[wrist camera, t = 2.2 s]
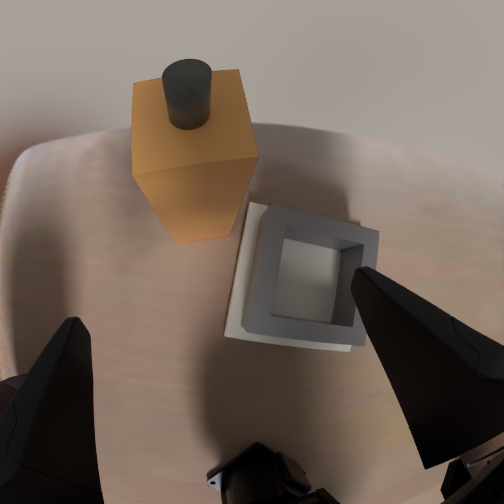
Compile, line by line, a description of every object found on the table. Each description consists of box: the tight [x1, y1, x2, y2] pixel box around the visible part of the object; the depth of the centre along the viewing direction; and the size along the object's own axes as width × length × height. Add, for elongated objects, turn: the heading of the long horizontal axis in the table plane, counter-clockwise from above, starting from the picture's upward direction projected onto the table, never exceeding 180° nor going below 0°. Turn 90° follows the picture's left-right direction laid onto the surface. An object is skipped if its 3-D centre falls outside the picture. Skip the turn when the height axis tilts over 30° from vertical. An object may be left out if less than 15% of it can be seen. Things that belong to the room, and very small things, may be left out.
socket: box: [224, 202, 379, 352], centre depth 19 cm, size 10×10×4 cm
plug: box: [131, 59, 259, 244], centre depth 14 cm, size 4×4×15 cm
